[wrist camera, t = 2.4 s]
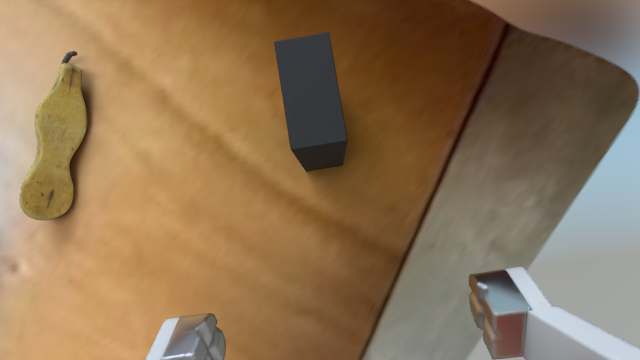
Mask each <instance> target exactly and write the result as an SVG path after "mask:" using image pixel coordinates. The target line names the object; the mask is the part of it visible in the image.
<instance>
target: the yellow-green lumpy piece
mask: <svg viewBox="0 0 640 360" xmlns="http://www.w3.org/2000/svg"><path fill="white" fill-rule="evenodd" d="M76 55H77V52H75V51H72V52H68V53H67V54H66V56H65V57H64V59H63V61H62V64H61V66H60V68H59V71H58V74H57V77H56V80H55V83H54V85H53V87H52V89H51V92H50V93H49V94H48V95H47V96H45V97H44V98H43V100H42V101H41V103H40V105H39V106H38V108H37V111H36V115H35V132H36V137H37V155H36V158H35V161H34V163H33V165H32V166H31V169H30V171H29V173H28V174H27V176H26V178H25V180H24V182H23V185H22V187H21V193H20V206H21V208H22V210H23V212H24V213H25V214H26V215H27V216H29V217H31V218H33V219H36V220H51V219H54V218H57V217H59V216H61V215H62V214H64V213H65V212H66V211H67V210H68V209H69V208H70V206H71V204H72V200H73V190H74V188H73V183H72V179H71V175H70V170H69V165H70V161H71V158H72V156H73V154H74V153H75V151H76V150H77V148H78V147H79V145H80V143H81V142H82V140H83V138H84V135H85V132H86V128H87V111H86V107H85V103H84V99H83V96H82V91H81V69H80V68H79V67H77V66H74V65H71V64H67V63H68V62H69V60H70V59H71V58H72V56H76Z"/></svg>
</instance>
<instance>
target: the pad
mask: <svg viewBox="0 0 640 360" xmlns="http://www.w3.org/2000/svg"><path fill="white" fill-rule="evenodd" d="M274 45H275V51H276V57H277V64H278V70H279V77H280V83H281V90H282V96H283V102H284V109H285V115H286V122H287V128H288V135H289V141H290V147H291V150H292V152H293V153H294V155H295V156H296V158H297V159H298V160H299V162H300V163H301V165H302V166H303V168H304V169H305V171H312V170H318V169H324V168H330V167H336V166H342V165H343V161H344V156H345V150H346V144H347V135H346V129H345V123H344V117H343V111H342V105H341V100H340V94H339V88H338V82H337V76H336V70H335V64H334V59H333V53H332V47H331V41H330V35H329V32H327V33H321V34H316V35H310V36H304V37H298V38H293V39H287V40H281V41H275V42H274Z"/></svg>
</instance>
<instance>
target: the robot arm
mask: <svg viewBox="0 0 640 360" xmlns="http://www.w3.org/2000/svg"><path fill="white" fill-rule="evenodd" d="M469 285H470V287H471V289H472V292H471V294H470V295H469V301H470V308H471V312H472V315H473V318H474V321H475V323H476V325H477V327H478V328H480V329H481V330H483V340H484V342H485V344H486V346H487V349H488V351H489V353H490V355H491V357H492V359H503V358H513V357H524V358H525V359H526V360H640V349H638V348H636V347H634V346H633V345H631V344H629V343H627V342H625V341H623V340H621V339H619V338H617V337H616V336H613V335H611V334H610V333H608V332H606V331H604V330H602V329H600V328H598V327H596V326H595V325H593V324H591V323H589V322H587V321H585V320H583V319H581V318H579V317H577V316H575V315H574V314H572V313H570V312H568V311H566V310H564V309H562V308H560V307H553V306H552V305H551V303H550V302H549V301H548V299H547V298H546V297H545V295H544V294H543V293H542V291H541V290H540V289H539V287H538V286H537V284H536V283H535V282H534V280H533V279H532V278H531V276H530V275H529V274H528V272H527V271H526V270H525V268H523V267H514V268H508V269H504V270H496V271H489V272H483V273H477V274H470V276H469ZM216 324H217V319H216V317H215V315H214V314H212V313H208V314H199V315H191V316H183V317H177V318H169V319H167V320H165V321H164V322H163V324H162V326H161V328H160V330H159V333H158V335H157V337H156V339H155V341H154V343H153V345H152V347H151V349H150V351H149V353H148V356H147V358H146V360H224V357H225V352H226V342H225V337H224V334H223V332H222V330H220V329H219V328H217V327H216Z"/></svg>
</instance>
